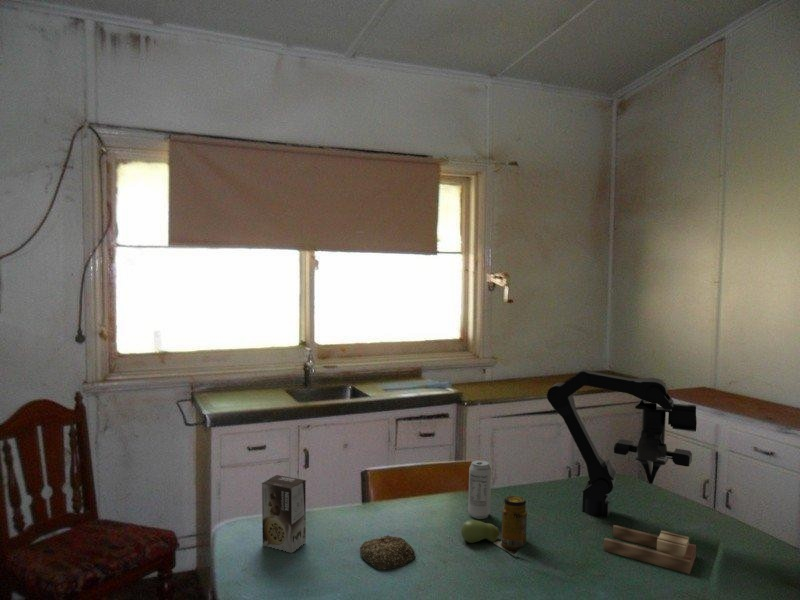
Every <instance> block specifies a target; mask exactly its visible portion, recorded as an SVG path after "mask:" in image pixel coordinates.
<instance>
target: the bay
mask: <svg viewBox="0 0 800 600" xmlns="http://www.w3.org/2000/svg"><path fill="white" fill-rule="evenodd" d="M658 537H659V535H658V534H652V533H649V532H645V531H640V530H637V529H634V528H628V527H625V526H620V525H616V524H614V525H613V526H612V538H614V539H611V538H608V537H604V539H603V549H602V550H603V551H604V552H608V553H611V554H614V555H619V556H623V557H626V558H629V559H633V560H636V561H640V562H645V563H648V564H651V565H655V566H659V567H663V568H666V569H670V570H674V571H677V572H681V573H684V574H689V575H690V574H691V572H692V569H693V566H694V563H695V559H696V557H697V555H696V554H697V544H694V543H690V542H689V545H688V548H687V550H686V553H685V556H684V558H681V557H678V556H674V555H670V554H666V553H662V552H658V551H657V550H654V549H657V539H658ZM615 538H616V539H618V540H615ZM619 539H620V540H623V541H620V540H619ZM624 541H627V542H629V543H627V542H624ZM632 543H633V544H632ZM635 544H639V545H642V546H639V545H635ZM643 546H645V547H643ZM647 547H650V548H647ZM651 548H653V549H651Z"/></svg>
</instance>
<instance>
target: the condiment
mask: <svg viewBox="0 0 800 600" xmlns="http://www.w3.org/2000/svg"><path fill="white" fill-rule="evenodd" d="M503 502H504V504H503V508H502V511H501V512H502V513H501V536H500V537H501V540H497V541H495V542H493V544H494V545H496V546H497V547H499V548H501V549H502V550H504V551H506V552H507V553H509V554H510V555H512V556H514V557H515V558H517V557H518V556H516V555H515V554H516V553H518V551H519V550H521V548H522V547H523V546H524V545H526V543H527V526H528V525H527V524H528V523H527V522H528V512H527V510H526V509H527V506H526V503H527V501H526V499H525V498H524V497H522V496H518V495H508V496H505V498H504V500H503Z"/></svg>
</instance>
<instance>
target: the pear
mask: <svg viewBox="0 0 800 600" xmlns="http://www.w3.org/2000/svg"><path fill="white" fill-rule="evenodd" d="M460 535H461V537H462V539H463V540H464V541H466V542H467V543H470V544H474V543H477V542H479V541H483V540H487V541H490V542H493V543H494V542H497V541H498V538H499V536H500V530H499V527H498V526H495V525H494V524H492V523H486V522H483V521H480V520H476V519H469V520H465V522H464V523H462V524H461V527H460Z"/></svg>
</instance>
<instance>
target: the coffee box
mask: <svg viewBox="0 0 800 600" xmlns="http://www.w3.org/2000/svg"><path fill="white" fill-rule="evenodd" d="M306 482H307V481H306V480H305V479H302V478H295V477H290V476H285V475H278V474H276V475H274V476H272V477H270V478H268V479H267V480H265V481H263V482H261V508H262V510H261V511H262V512H261V516H262V517H261V518H262V519H261V520H262V522H261V523H262V526H261V527H262V531H261V532H262V547H265V546H267V547H266V548H269V547H272V548H271V549H273V548H275V549H274V550H277V549H279V550H278V551H281V550H283V551H282V552H285V551H286V552H287V553H290V554H293V553H294V552H295V551H297V550H299V549H300V548H301V547H302V546H304V545H305V544H306V543H305V542H306V539H307V538H306V529H307V528H306V525H307V524H306V516H307V515H306V513H307V512H306V498H307V497H306V492H307V491H306V488H307V487H306ZM304 543H305V544H304ZM303 544H304V545H303ZM301 545H302V546H301ZM300 546H301V547H300ZM299 547H300V548H299ZM296 549H297V550H296Z"/></svg>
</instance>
